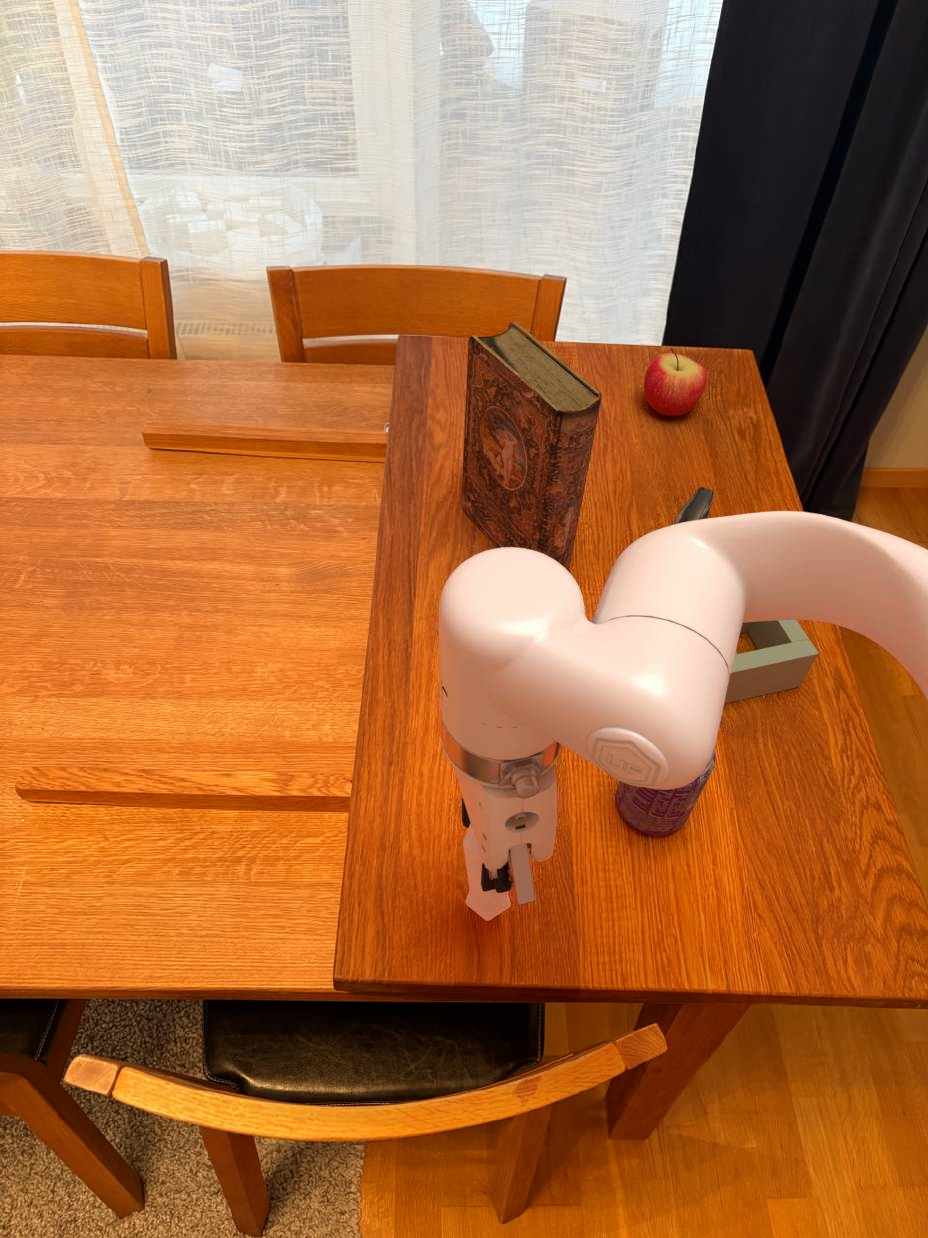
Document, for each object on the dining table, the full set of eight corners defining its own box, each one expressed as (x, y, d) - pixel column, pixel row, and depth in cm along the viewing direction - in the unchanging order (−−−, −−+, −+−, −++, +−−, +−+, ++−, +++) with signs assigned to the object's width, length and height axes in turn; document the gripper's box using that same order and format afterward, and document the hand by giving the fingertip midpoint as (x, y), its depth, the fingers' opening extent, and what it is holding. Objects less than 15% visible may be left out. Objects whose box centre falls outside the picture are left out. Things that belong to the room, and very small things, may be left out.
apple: (633, 391, 124) (646, 330, 117) (690, 390, 125) (707, 329, 117) (643, 427, 119) (658, 365, 111) (703, 426, 120) (722, 365, 112)
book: (575, 574, 101) (610, 399, 82) (538, 592, 99) (564, 418, 80) (496, 493, 110) (511, 317, 90) (461, 508, 108) (468, 332, 88)
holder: (799, 687, 92) (819, 653, 87) (713, 706, 90) (728, 673, 85) (755, 615, 98) (771, 581, 93) (673, 632, 96) (685, 597, 92)
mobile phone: (684, 558, 97) (723, 478, 105) (659, 549, 98) (699, 470, 106) (675, 587, 101) (713, 507, 109) (651, 577, 102) (690, 499, 110)
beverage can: (679, 770, 85) (710, 703, 76) (695, 837, 81) (730, 775, 71) (608, 773, 85) (631, 706, 75) (621, 840, 80) (647, 778, 71)
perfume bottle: (459, 923, 72) (461, 849, 60) (462, 873, 75) (465, 792, 63) (514, 926, 72) (526, 853, 60) (515, 876, 75) (527, 796, 63)
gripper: (611, 833, 47) (575, 945, 61) (518, 607, 58) (505, 748, 72) (481, 866, 46) (474, 974, 60) (410, 629, 56) (418, 768, 70)
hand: (491, 850), depth 66 cm, fingers closed on perfume bottle, 4 cm apart
